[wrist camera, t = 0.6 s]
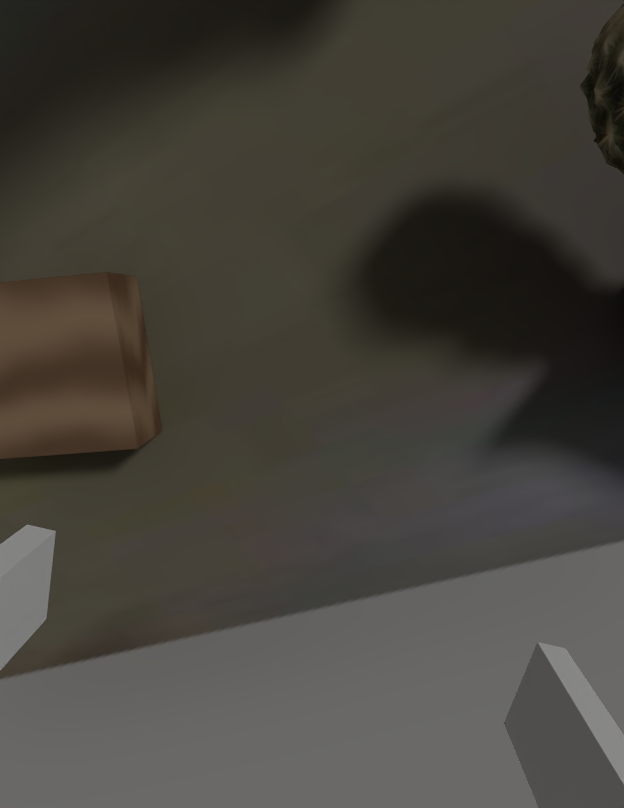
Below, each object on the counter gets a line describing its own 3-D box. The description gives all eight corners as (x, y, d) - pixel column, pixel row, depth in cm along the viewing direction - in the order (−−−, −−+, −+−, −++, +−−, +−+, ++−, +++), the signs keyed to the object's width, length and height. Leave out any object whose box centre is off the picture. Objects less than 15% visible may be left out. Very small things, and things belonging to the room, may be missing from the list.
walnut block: (-17, 291, 37) (-70, 289, 32) (136, 276, 36) (106, 272, 31) (19, 441, 40) (-25, 460, 35) (162, 430, 39) (138, 448, 34)
